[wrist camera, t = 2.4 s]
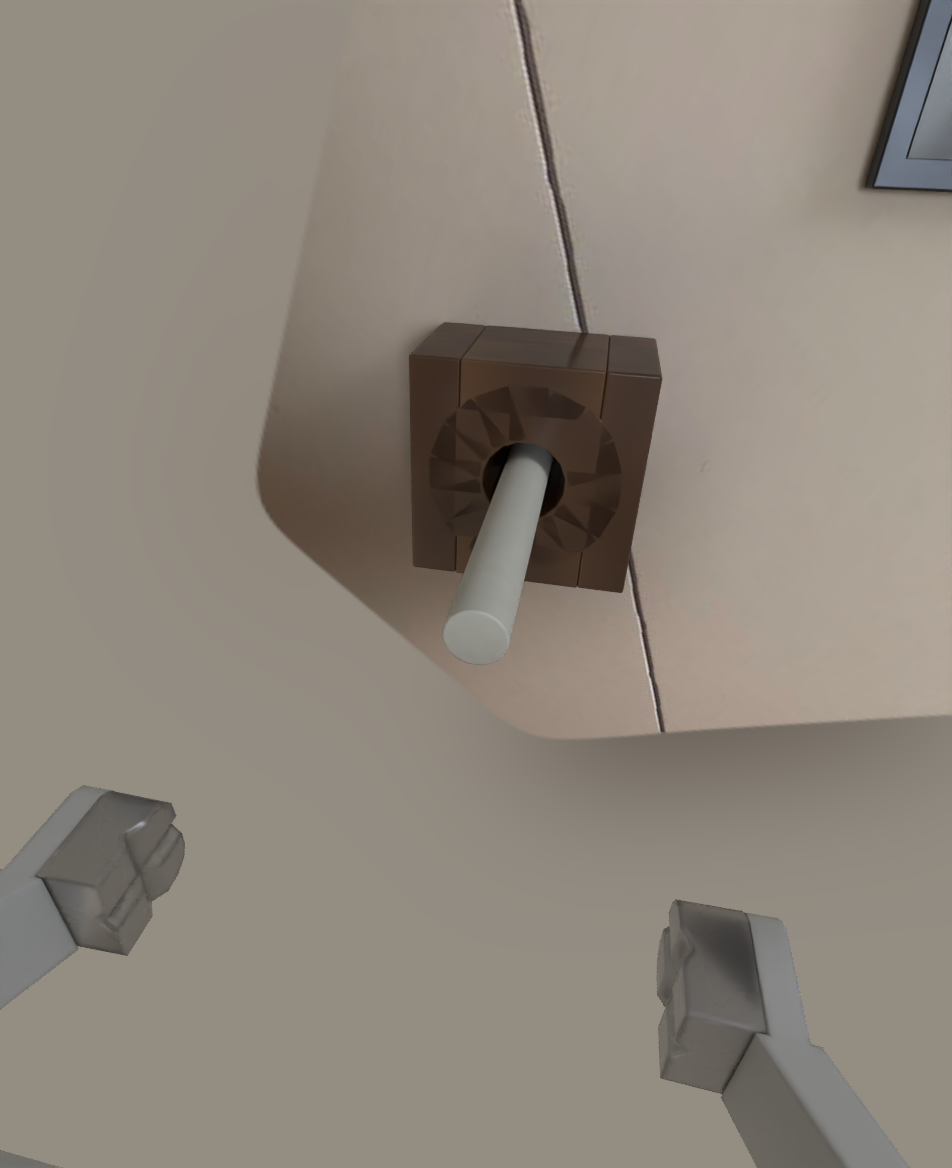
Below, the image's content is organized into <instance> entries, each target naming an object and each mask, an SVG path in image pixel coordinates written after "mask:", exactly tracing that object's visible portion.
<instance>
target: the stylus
mask: <svg viewBox="0 0 952 1168" xmlns="http://www.w3.org/2000/svg"><path fill="white" fill-rule="evenodd" d="M552 459H553V455H552V454H551V453H550V452H549V451H547V450H545V449H544V448H542V447H540V446H538V445H536V444H528V443H515V444H513V445H512V448H511V451H510V453H509V456H508V459H507V461H506V464H505V466H504V469H503V472H502V474H501V477H500V480H499V482H498V485H497V487H496V490H495V493H494V495H493V498H492V500H491V503H490V506H489V508H488V511H487V514H486V516H485V519H484V521H483V524H482V527H481V529H480V532H479V535H478V537H477V540H476V542H475V545H474V548H473V550H472V553H471V556H470V558H469V561H468V563H467V566H466V569H465V571H464V574H463V577H462V579H461V582H460V584H459V587H458V590H457V592H456V595H455V597H454V600H453V603H452V605H451V608H450V611H449V613H448V616H447V618H446V621H445V624H444V626H443V632H442V634H443V640H444V643H445V645H446V647H447V649H448V650H449V651H450V652H451V653H452V654H453V655H454V656H455V657H457V658H458V659H460V660H462V661H464V662H466V663H470V664H475V665H485V664H490V663H493V662H495V661H497V660H499V659H500V658H501V657H502V656H503V655H504V654H505V653H506V651H507V649H508V647H509V643H510V639H511V634H512V630H513V626H514V621H515V617H516V613H517V609H518V604H519V600H520V596H521V592H522V587H523V583H524V579H525V574H526V570H527V566H528V562H529V557H530V553H531V549H532V545H533V540H534V536H535V532H536V528H537V523H538V519H539V515H540V510H541V506H542V502H543V498H544V493H545V489H546V485H547V481H548V476H549V472H550V468H551V464H552Z"/></svg>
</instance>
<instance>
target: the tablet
mask: <svg viewBox="0 0 952 1168" xmlns="http://www.w3.org/2000/svg"><path fill="white" fill-rule="evenodd" d="M865 187H867V188H873V189H895V190H916V191H938V192H952V0H921V1H920V5H919V8H918V11H917V15H916V18H915V21H914V24H913V28H912V31H911V34H910V38H909V41H908V44H907V48H906V51H905V54H904V58H903V61H902V64H901V68H900V71H899V74H898V78H897V81H896V84H895V88H894V91H893V94H892V98H891V101H890V104H889V107H888V111H887V114H886V117H885V121H884V124H883V127H882V131H881V134H880V137H879V141H878V144H877V147H876V151H875V154H874V157H873V161H872V164H871V167H870V171H869V174H868V177H867V180H866V184H865Z"/></svg>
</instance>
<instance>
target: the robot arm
mask: <svg viewBox="0 0 952 1168" xmlns="http://www.w3.org/2000/svg"><path fill="white" fill-rule="evenodd" d="M175 817H176V814H175V811H174V809H173V806H172V804H171V803H169V802H164V801H159V800H154V799H149V798H144V797H139V796H133V795H129V794H124V793H119V792H115V791H111V790H106V789H101V788H95V787H90V786H84V785H83V786H81V787H80V788H78V789H76V790H75V791H73V792H72V793H71V794H70V795H69V796H68V797H67V798H66V799H65V800H64V802H63V803H62V804H61V805H60V806H59V807H58V809H57V810H56V811H55V812H54V813H53V814H52V815H51V816H50V818H49V819H48V820H47V821H46V822H45V823H44V824H43V825H42V827H41V828H40V829H39V830H38V831H37V832H36V833H35V834H34V836H33V837H32V838H31V839H30V840H29V841H28V842H27V844H26V845H25V846H24V847H23V848H22V849H21V850H20V852H19V853H18V854H17V855H16V856H15V857H14V858H13V859H12V861H11V862H10V863H9V864H8V865H7V866H6V867H5V868H4V870H1V869H0V1009H1V1008H3V1007H4V1006H5V1005H7V1004H8V1003H9V1002H11V1001H12V1000H13V999H14V998H16V997H17V996H18V995H20V994H21V993H22V992H24V991H25V990H26V989H28V988H29V987H30V986H31V985H33V984H34V983H35V982H37V981H38V980H39V979H41V978H42V977H43V976H44V975H46V974H47V973H48V972H50V971H51V970H52V969H54V968H55V967H56V966H57V965H59V964H60V963H61V962H63V961H64V960H65V959H67V958H68V957H69V956H71V955H72V954H73V953H74V952H76V951H77V950H78V947H77V946H80V947H86V948H91V949H96V950H101V951H106V952H111V953H116V954H121V955H126V956H127V955H128V954H129V952H130V951H131V949H132V948H133V946H134V944H135V943H136V941H137V940H138V938H139V937H140V935H141V933H142V932H143V930H144V929H145V927H146V925H147V924H148V922H149V921H150V919H151V918H152V901H153V900H155V899H156V898H158V897H159V896H161V895H162V894H164V893H165V892H167V891H168V890H169V889H170V887H171V885H172V884H173V882H174V880H175V879H176V877H177V875H178V873H179V870H180V867H181V864H182V861H183V858H184V849H185V843H184V839H183V836H182V833H181V832H180V831H179V830H178V829H177V828H176V827H174V826H173V825H172V824H171V823H172V822H173V820H174V819H175ZM669 919H670V920H669V922H670V926H669V927H667V928H665V929H664V930H663V933H662V936H661V940H660V944H659V952H658V958H657V995H658V997H659V998H660V1000H661V1002H662V1003H663V1005H664V1006H665V1010H664V1013H663V1015H662V1018H661V1021H660V1024H659V1027H658V1032H659V1058H660V1078H662V1079H666V1080H669V1081H674V1082H677V1083H681V1084H685V1085H689V1086H693V1087H697V1088H701V1089H704V1090H708V1091H712V1092H716V1093H720V1094H723V1095H722V1097H721V1098H722V1100H723V1102H724V1104H725V1106H726V1108H727V1110H728V1112H729V1114H730V1116H731V1118H732V1120H733V1122H734V1124H735V1125H736V1127H737V1129H738V1131H739V1133H740V1135H741V1137H742V1139H743V1141H744V1143H745V1145H746V1147H747V1149H748V1151H749V1153H750V1155H751V1157H752V1159H753V1160H754V1162H755V1164H756V1166H757V1168H910V1167H909V1166H908V1164H907V1163H906V1161H905V1160H904V1159H903V1157H902V1156H901V1155H900V1153H899V1152H898V1150H897V1149H896V1148H895V1146H894V1145H893V1144H892V1142H891V1141H890V1140H889V1138H888V1137H887V1135H886V1134H885V1133H884V1131H883V1130H882V1129H881V1127H880V1126H879V1124H878V1123H877V1122H876V1120H875V1119H874V1118H873V1116H872V1115H871V1114H870V1112H869V1111H868V1109H867V1108H866V1107H865V1105H864V1104H863V1103H862V1101H861V1100H860V1099H859V1097H858V1096H857V1094H856V1093H855V1092H854V1090H853V1089H852V1088H851V1086H850V1085H849V1083H848V1082H847V1081H846V1079H845V1078H844V1077H843V1075H842V1074H841V1073H840V1071H839V1070H838V1068H837V1067H836V1066H835V1064H834V1063H833V1062H832V1060H831V1059H830V1058H829V1056H828V1055H827V1053H826V1052H825V1051H824V1049H823V1048H822V1047H819V1046H815V1045H811V1044H810V1039H809V1034H808V1029H807V1024H806V1020H805V1015H804V1010H803V1005H802V1001H801V996H800V991H799V986H798V981H797V976H796V972H795V967H794V962H793V958H792V952H791V948H790V943H789V938H788V933H787V929H786V927H785V926H784V924H783V922H782V921H781V920H780V919H778V918H773V917H767V916H761V915H756V914H749V913H744V912H743V911H739V910H732V909H727V908H722V907H716V906H710V905H704V904H699V903H693V902H687V901H682V900H675V901H674V902H673V903H672V905H671V908H670V911H669ZM0 1168H61V1167H58V1166H54V1165H51V1164H47V1163H44V1162H40V1161H37V1160H33V1159H29V1158H26V1157H22V1156H19V1155H15V1154H12V1153H8V1152H5V1151H1V1150H0Z"/></svg>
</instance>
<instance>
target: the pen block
mask: <svg viewBox="0 0 952 1168" xmlns="http://www.w3.org/2000/svg"><path fill="white" fill-rule="evenodd" d="M409 380H410V432H411V484H412V536H413V566H415V567H423V568H430V569H438V570H446V571H456V572H459V573H464V571H465V569H466V566H467V563H468V561H469V558H470V556H471V553H472V550H473V548H474V545H475V542H476V540H477V537H478V535H479V532H480V529H481V527H482V524H483V521H484V519H485V516H486V514H487V511H488V508H489V506H490V503H491V500H492V498H493V495H494V493H495V490H496V487H497V485H498V482H499V480H500V477H501V474H502V472H503V469H504V466H505V464H506V461H507V459H508V456H509V453H510V451H509V450H508V447H507V446H508V445H511V444H515V443H528V444H536V445H538V446H540V447H542V448H544V449H545V450H547V451H549V452H550V453H551V454H552V455H553V457H554V458H555V459H556V460H557V462H555V463H552V464H551V468H550V472H549V476H548V481H547V485H546V489H545V493H544V498H543V502H542V506H541V510H540V515H539V519H538V523H537V528H536V532H535V536H534V540H533V545H532V549H531V553H530V557H529V562H528V566H527V570H526V574H525V579H524V581H529V582H537V583H544V584H552V585H560V586H568V587H577V586H578V587H579V588H586V589H594V590H602V591H610V592H618V593H622V592H623V589H624V583H625V578H626V573H627V567H628V562H629V556H630V551H631V545H632V540H633V535H634V529H635V524H636V518H637V513H638V508H639V502H640V497H641V491H642V486H643V481H644V475H645V470H646V464H647V459H648V453H649V448H650V443H651V437H652V432H653V426H654V421H655V416H656V410H657V405H658V399H659V394H660V388H661V383H662V373H661V367H660V361H659V355H658V349H657V343H656V340H655V339H650V338H638V337H625V336H610V338H609V336H608V335H600V334H587V333H575V332H562V331H549V330H536V329H523V328H510V327H497V326H487V327H486V326H483V325H471V324H458V323H443V324H442V325H441V326H440V327H439V328H437V329H436V330H435V331H434V332H433V333H432V334H431V335H430V336H429V337H428V338H427V339H426V340H425V341H424V342H423V343H422V344H421V345H420V346H418V347H417V348H416V349H415V350H414V351H413V352H412V353H411V354H410V355H409Z"/></svg>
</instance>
